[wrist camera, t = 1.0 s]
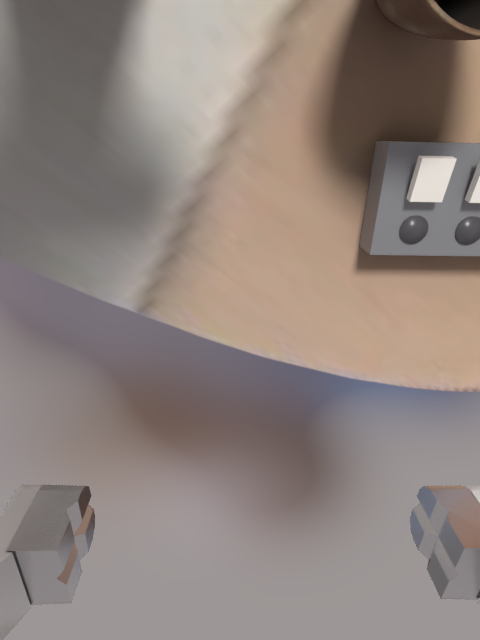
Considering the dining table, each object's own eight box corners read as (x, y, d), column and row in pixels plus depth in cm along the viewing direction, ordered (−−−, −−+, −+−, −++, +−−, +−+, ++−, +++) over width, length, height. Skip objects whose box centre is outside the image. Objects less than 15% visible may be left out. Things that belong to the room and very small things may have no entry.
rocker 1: (417, 154, 39) (422, 157, 38) (450, 155, 39) (456, 158, 38) (405, 197, 41) (409, 201, 40) (436, 198, 42) (441, 202, 41)
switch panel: (376, 140, 43) (390, 141, 39) (565, 145, 44) (597, 146, 40) (359, 245, 48) (370, 255, 44) (527, 248, 49) (553, 257, 45)
